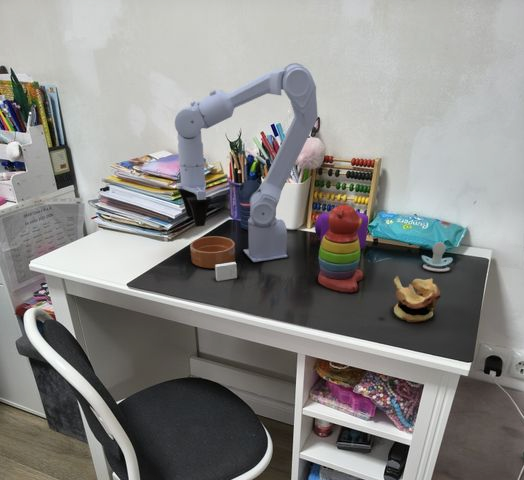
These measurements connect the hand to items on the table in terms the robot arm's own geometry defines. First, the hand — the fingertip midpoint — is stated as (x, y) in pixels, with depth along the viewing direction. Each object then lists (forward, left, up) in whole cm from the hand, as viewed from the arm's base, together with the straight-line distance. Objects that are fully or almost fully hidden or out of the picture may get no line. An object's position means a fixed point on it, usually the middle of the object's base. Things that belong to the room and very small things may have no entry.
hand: (195, 220), depth 124 cm
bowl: (-3, +5, -9) cm, 11 cm away
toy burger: (-34, +46, -10) cm, 57 cm away
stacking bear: (-27, +27, -10) cm, 39 cm away
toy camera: (-37, +8, -10) cm, 39 cm away
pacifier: (-53, +29, -10) cm, 61 cm away
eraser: (-3, +16, -10) cm, 18 cm away
